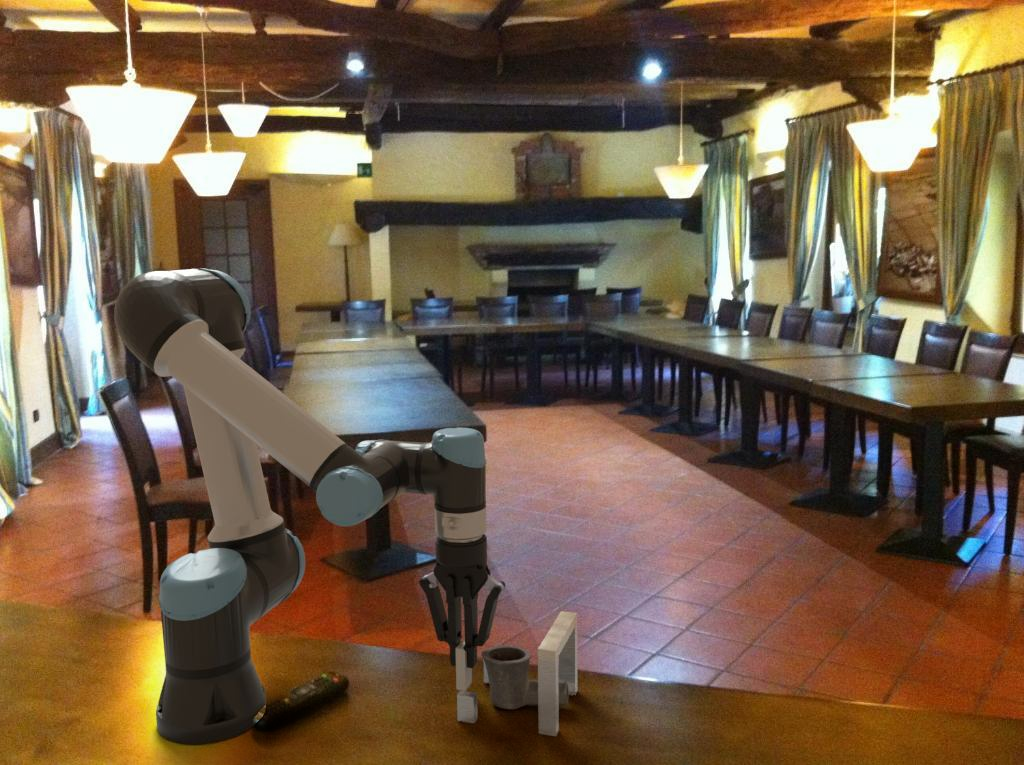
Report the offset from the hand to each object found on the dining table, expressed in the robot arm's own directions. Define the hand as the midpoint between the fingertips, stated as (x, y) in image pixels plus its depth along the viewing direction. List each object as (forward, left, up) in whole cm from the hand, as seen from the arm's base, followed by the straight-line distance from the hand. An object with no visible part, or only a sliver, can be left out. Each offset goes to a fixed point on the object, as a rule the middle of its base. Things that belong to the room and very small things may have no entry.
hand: (464, 685), depth 132 cm
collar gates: (+9, 0, -2) cm, 9 cm away
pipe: (+9, 0, -2) cm, 10 cm away
